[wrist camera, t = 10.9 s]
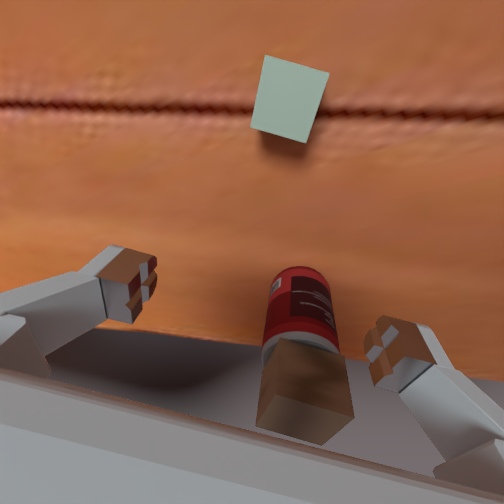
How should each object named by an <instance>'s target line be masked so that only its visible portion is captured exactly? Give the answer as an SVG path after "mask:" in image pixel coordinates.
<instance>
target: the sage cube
mask: <svg viewBox="0 0 504 504" xmlns="http://www.w3.org/2000/svg"><path fill="white" fill-rule="evenodd" d="M329 74H330V73H327V72H323V71H320V70H316V69H313V68H309V67H306V66H303V65H299V64H296V63H292V62H289V61H285V60H282V59H278V58H275V57H271V56H268V55H265V58H264V63H263V68H262V73H261V78H260V82H259V87H258V92H257V97H256V102H255V107H254V111H253V116H252V121H251V126H250V127H251V128H254V129H258V130H261V131H265V132H268V133H272V134H275V135H279V136H282V137H286V138H289V139H293V140H296V141H300V142H303V143H306V142H307V139H308V136H309V133H310V130H311V127H312V124H313V121H314V118H315V115H316V112H317V109H318V106H319V103H320V100H321V98H322V95H323V92H324V89H325V86H326V83H327V80H328V77H329Z"/></svg>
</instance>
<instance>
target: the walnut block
mask: <svg viewBox="0 0 504 504" xmlns="http://www.w3.org/2000/svg"><path fill="white" fill-rule="evenodd" d="M352 419H354V412H353V406H352V400H351V394H350V388H349V382H348V376H347V370H346V365H345V359H344V356H342V355H339V354H335V353H332V352H329V351H325V350H322V349H318V348H315V347H312V346H308V345H305V344H301V343H298V342H295V341H291V340H288V339H284V338H281V337H280V338H279V340H278V342H277V344H276V346H275V348H274V350H273V352H272V354H271V356H270V358H269V360H268V362H267V364H266V365H265V367H264V370H263V372H262V379H261V387H260V395H259V402H258V410H257V417H256V425H255V426H256V427H260V428H264V429H267V430H270V431H274V432H277V433H280V434H284V435H287V436H290V437H294V438H297V439H301V440H304V441H307V442H311V443H315V444H318V445H323V444H324V443H326V442H327V441H328V440H329V439H330V438H331V437H332V436H334V435H335V434H336V433H337V432H338V431H340V430H341V429H342V428H343V427H344V426H345V425H346V424H348V423H349V422H350V421H351V420H352Z"/></svg>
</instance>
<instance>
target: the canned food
mask: <svg viewBox="0 0 504 504" xmlns="http://www.w3.org/2000/svg"><path fill="white" fill-rule="evenodd" d="M280 337H281V338H284V339H288V340H291V341H295V342H298V343H301V344H305V345H308V346H312V347H315V348H318V349H322V350H325V351H329V352H332V353H335V354H339V355H340V352H339V344H338V338H337V331H336V325H335V319H334V313H333V307H332V300H331V294H330V288H329V285H328V283H327V281H326V280H325V279H324V277H323V276H322V275H321V274H320V273H319V272H317V271H316V270H314V269H312V268H309V267H304V266H296V267H291V268H287V269H285V270H283V271H282V272H281V273H279V274H278V275H277V277H276V278H275V279H274V281H273V283H272V285H271V290H270V296H269V303H268V310H267V316H266V323H265V330H264V336H263V343H262V351H261V353H262V356H261V359H262V364H263V367H265V365H266V364H267V362H268V360H269V358H270V356H271V354H272V352H273V350H274V348H275V346H276V344H277V342H278V340H279V338H280Z"/></svg>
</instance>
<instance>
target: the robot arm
mask: <svg viewBox="0 0 504 504" xmlns="http://www.w3.org/2000/svg"><path fill="white" fill-rule="evenodd" d="M156 266H157V258H156V257H155V256H153V255H150V254H146V253H143V252H139V251H136V250H132V249H129V248H124V247H121V246H117V245H109V246H108V247H107V248H105V249H104V250H103V251H102V252H101V253H99V254H98V255H97V256H96V257H95V258H93V259H92V260H91V261H90V262H89V263H88V264H86V265H85V266H84V267H83V268H82V269H80V270H79V271H78V272H73V271H71V272H68V273H65V274H61V275H58V276H55V277H52V278H48V279H45V280H42V281H38V282H35V283H32V284H29V285H25V286H22V287H19V288H15V289H12V290H9V291H5V292H2V293H0V504H504V410H503V409H502V408H501V407H499V406H498V405H497V404H496V403H495V402H494V401H493V400H492V399H491V398H489V397H488V396H487V395H486V394H485V393H484V392H483V391H482V390H480V389H479V388H478V387H477V386H476V385H475V384H473V382H471V381H470V380H469V379H468V378H467V377H466V376H465V375H464V374H462V373H461V372H460V371H457V370H455V369H454V367H453V365H452V364H451V362H450V360H449V359H448V357H447V355H446V353H445V352H444V350H443V348H442V347H441V345H440V343H439V342H438V340H437V338H436V336H435V335H434V333H433V331H432V330H431V329H430V328H429V327H428V326H427V325H422V324H418V323H414V322H409V321H405V320H401V319H397V318H393V317H389V316H385V315H383V316H381V317H379V318H378V320H377V321H376V325H377V327H375V328H373V329H370V330H369V331H368V333H367V334H366V336H365V339H364V352H365V355H366V357H367V358H368V359H369V360H370V361H371V364H370V366H369V370H370V374H371V377H372V380H373V384H374V387H378V388H381V389H385V390H388V391H392V392H395V393H399V396H400V398H401V399H402V400H403V402H404V403H405V405H406V406H407V407H408V409H409V410H410V412H411V413H412V414H413V416H414V417H415V419H416V420H417V421H418V423H419V424H420V425H421V427H422V428H423V430H424V431H425V433H426V434H427V435H428V437H429V438H430V440H431V441H432V442H433V444H434V445H435V446H436V448H437V449H438V451H439V452H440V453H441V455H442V456H443V457H444V459H445V460H446V462H445V463H442V464H440V465H438V466H436V467H435V468H434V470H433V473H434V475H435V478H433V477H429V476H425V475H421V474H417V473H413V472H409V471H405V470H401V469H397V468H393V467H390V466H386V465H382V464H378V463H374V462H370V461H366V460H362V459H358V458H354V457H350V456H347V455H343V454H338V453H335V452H331V451H327V450H323V449H319V448H315V447H311V446H307V445H304V444H300V443H295V442H292V441H288V440H284V439H280V438H276V437H272V436H268V435H264V434H261V433H257V432H253V431H249V430H245V429H241V428H236V427H233V426H229V425H225V424H221V423H218V422H214V421H210V420H206V419H202V418H198V417H194V416H190V415H186V414H182V413H178V412H175V411H170V410H167V409H163V408H159V407H154V406H151V405H147V404H143V403H139V402H135V401H131V400H127V399H124V398H120V397H116V396H111V395H108V394H104V393H100V392H96V391H92V390H88V389H84V388H80V387H76V386H72V385H69V384H65V383H61V382H57V381H53V380H49V379H47V377H48V376H49V375H50V374H51V371H50V367H49V365H48V363H47V361H46V359H45V357H44V356H45V355H47V354H49V353H51V352H52V351H54V350H56V349H58V348H59V347H61V346H63V345H65V344H66V343H68V342H70V341H71V340H73V339H75V338H77V337H78V336H80V335H82V334H83V333H85V332H87V331H89V330H90V329H92V328H94V327H95V326H97V325H99V324H101V323H102V322H104V321H106V320H107V319H111V320H116V321H120V322H125V323H129V324H133V322H134V321H135V319H136V318H137V317H138V315H139V314H140V312H141V311H142V309H143V308H142V303H143V302H145V301H148V300H149V299H150V298H151V296H152V294H153V292H154V290H155V288H156V284H157V274H156V273H155V271H154V269H155V267H156Z"/></svg>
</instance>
